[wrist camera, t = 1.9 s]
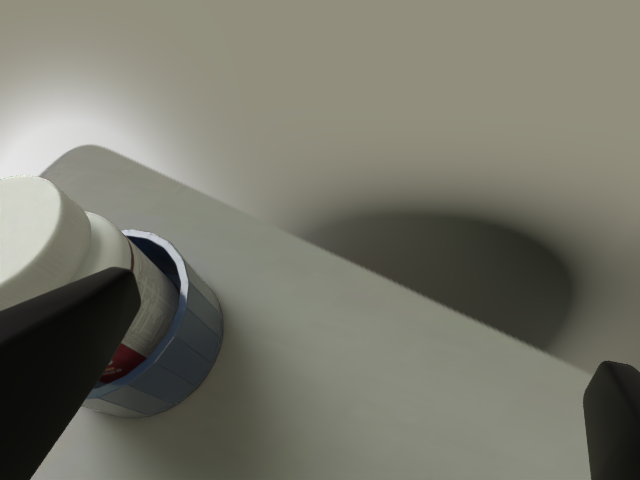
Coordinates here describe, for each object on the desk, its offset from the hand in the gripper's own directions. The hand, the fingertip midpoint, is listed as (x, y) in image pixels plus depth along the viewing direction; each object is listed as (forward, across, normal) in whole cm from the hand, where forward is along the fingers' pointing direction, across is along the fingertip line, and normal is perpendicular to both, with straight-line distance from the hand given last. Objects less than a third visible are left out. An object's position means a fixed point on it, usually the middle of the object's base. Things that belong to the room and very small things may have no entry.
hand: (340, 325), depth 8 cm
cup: (+9, +13, +13) cm, 20 cm away
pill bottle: (+9, +13, +12) cm, 20 cm away
